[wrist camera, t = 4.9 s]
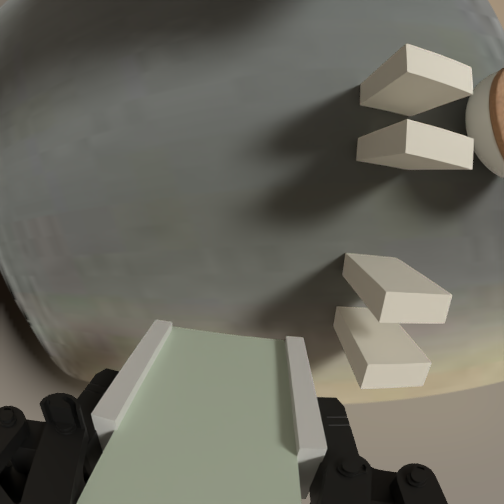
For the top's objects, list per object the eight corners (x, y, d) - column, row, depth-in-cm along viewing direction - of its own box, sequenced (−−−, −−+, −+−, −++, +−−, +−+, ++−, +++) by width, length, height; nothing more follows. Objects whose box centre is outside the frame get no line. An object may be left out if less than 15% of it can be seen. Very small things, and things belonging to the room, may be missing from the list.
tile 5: (336, 306, 28) (367, 364, 19) (385, 308, 28) (431, 362, 19) (332, 325, 29) (360, 388, 19) (381, 327, 29) (423, 385, 19)
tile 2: (357, 138, 25) (407, 119, 15) (409, 148, 25) (473, 138, 15) (356, 160, 26) (405, 153, 16) (407, 170, 25) (472, 169, 16)
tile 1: (360, 84, 24) (406, 43, 14) (411, 96, 24) (471, 67, 14) (359, 105, 24) (407, 71, 15) (410, 116, 24) (473, 94, 15)
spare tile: (172, 326, 14) (71, 514, 4) (284, 339, 14) (306, 556, 4) (172, 362, 14) (93, 545, 5) (278, 376, 14) (287, 579, 5)
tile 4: (345, 252, 27) (386, 291, 18) (396, 257, 27) (452, 294, 18) (342, 274, 28) (379, 322, 18) (392, 278, 28) (444, 323, 18)
